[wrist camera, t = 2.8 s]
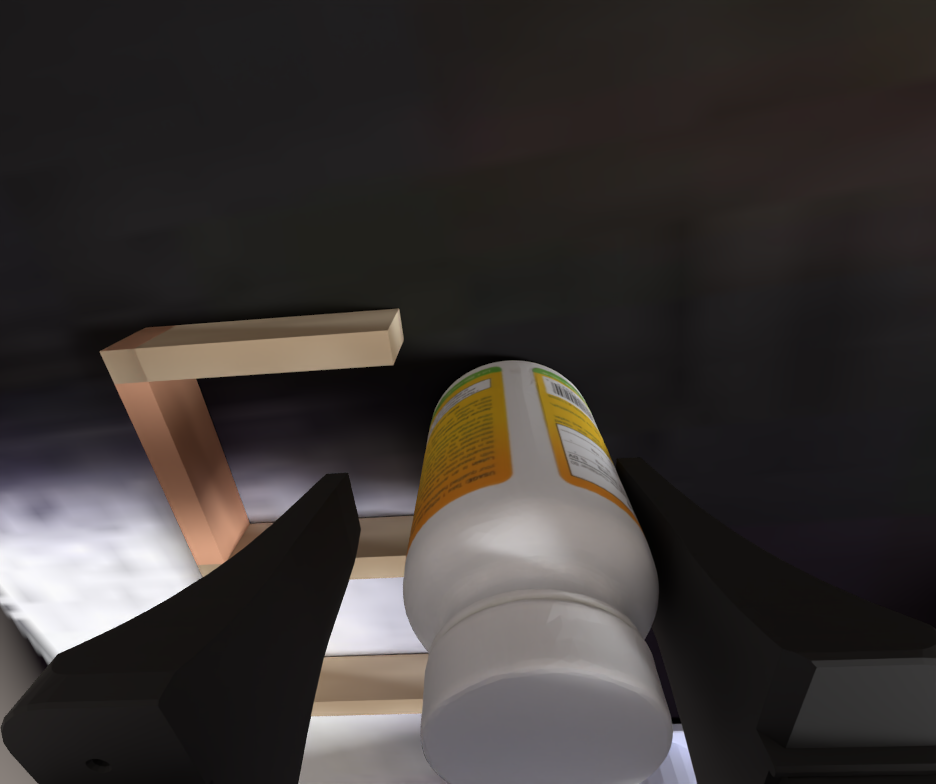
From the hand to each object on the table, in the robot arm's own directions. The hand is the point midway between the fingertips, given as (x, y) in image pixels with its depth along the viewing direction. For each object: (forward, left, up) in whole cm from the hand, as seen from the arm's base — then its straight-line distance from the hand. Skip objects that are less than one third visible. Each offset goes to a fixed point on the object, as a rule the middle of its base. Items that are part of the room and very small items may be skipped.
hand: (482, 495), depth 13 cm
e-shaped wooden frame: (-4, +6, -3) cm, 8 cm away
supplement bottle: (0, -1, -4) cm, 4 cm away
